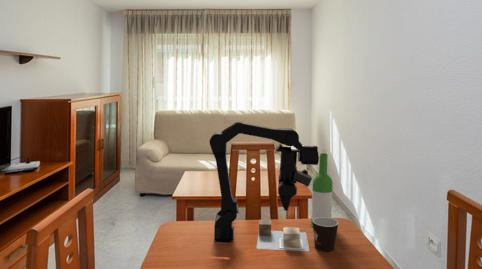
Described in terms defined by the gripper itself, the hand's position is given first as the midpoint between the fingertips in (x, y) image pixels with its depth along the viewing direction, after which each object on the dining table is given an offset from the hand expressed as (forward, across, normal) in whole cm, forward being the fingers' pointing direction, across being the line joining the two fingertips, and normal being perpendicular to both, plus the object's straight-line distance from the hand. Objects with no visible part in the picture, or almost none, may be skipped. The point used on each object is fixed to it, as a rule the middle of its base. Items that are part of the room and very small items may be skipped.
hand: (285, 206), depth 128 cm
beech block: (+12, -4, -2) cm, 13 cm away
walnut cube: (+12, +4, +7) cm, 15 cm away
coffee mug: (+13, -4, -14) cm, 19 cm away
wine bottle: (+13, +14, -15) cm, 24 cm away
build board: (+13, -1, 0) cm, 13 cm away
